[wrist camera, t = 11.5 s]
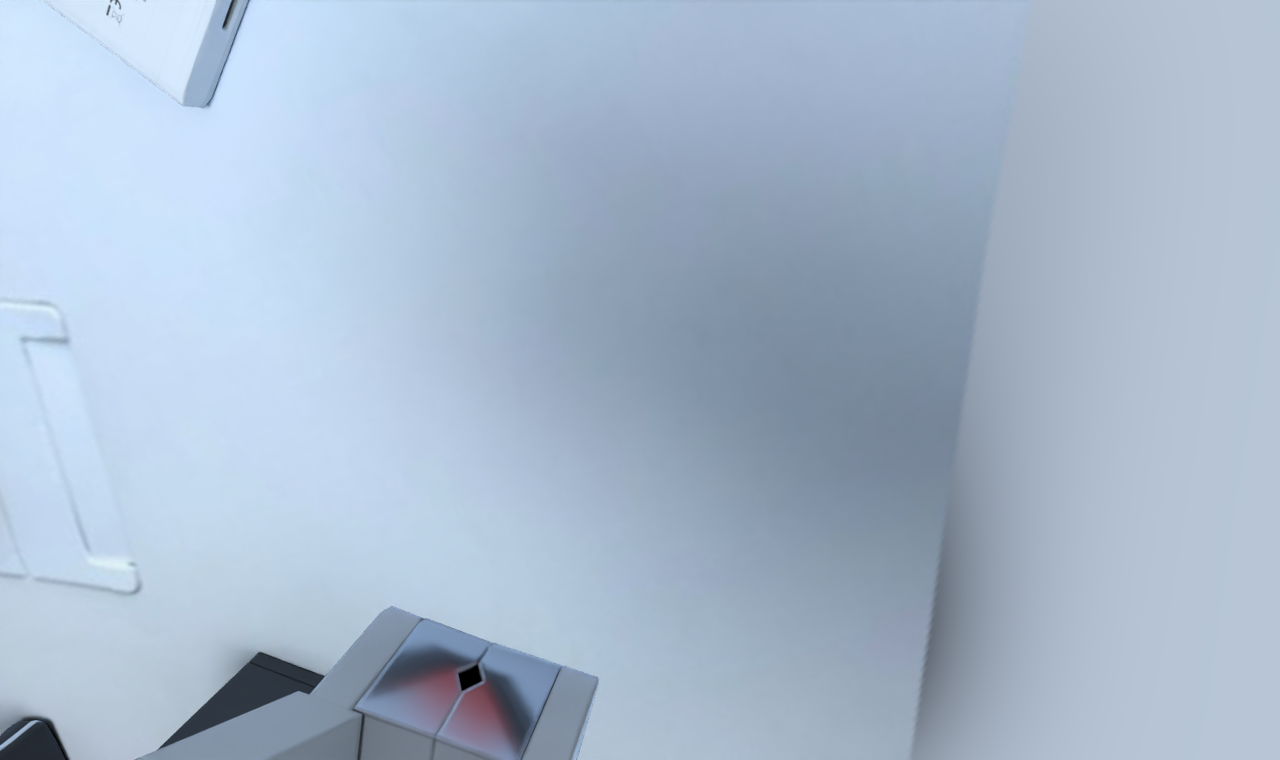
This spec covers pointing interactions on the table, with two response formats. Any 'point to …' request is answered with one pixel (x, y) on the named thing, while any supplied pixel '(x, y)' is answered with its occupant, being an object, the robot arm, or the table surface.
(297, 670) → the dark grey box
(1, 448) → the table surface
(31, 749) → the battery charger
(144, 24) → the hard drive
